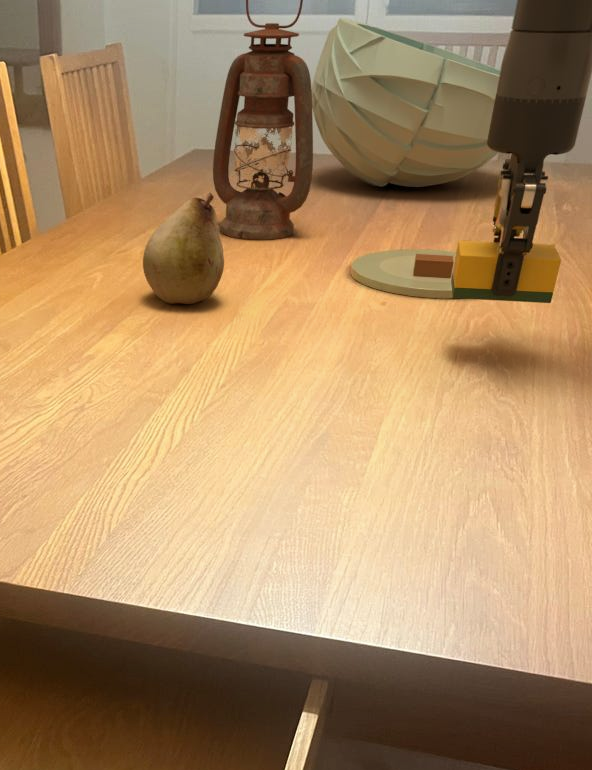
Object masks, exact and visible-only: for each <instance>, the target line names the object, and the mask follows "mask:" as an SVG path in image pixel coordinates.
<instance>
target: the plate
mask: <svg viewBox="0 0 592 770" xmlns="http://www.w3.org/2000/svg"><path fill="white" fill-rule="evenodd" d="M416 254H429V255H447V256H453V260H454V262H455V257H456V251H448V250H440V249H439V250H438V249H419V248H418V249H417V248H416V249H415V248H413V249H412V248H409V249H406V248H405V249H391V250H382V251H381V250H380V251H375V252H371V253H366V254H363V255H360V256H358V257H357V258H355V259H354V260H353V261H352V263H351V266H350V268H351V269H350V275H351V277H352V278H353V279H354V280H355V281H357V282H359V284H362V285H364V286H366V287H369V288H372V289H375V290H379V291H383V292H387V293H390V294H396V295H401V296H408V297H417V298H425V299H426V298H427V299H428V298H429V299H449V300H451V299H452V300H453V299H455V298H453V295H452V286H451V279H452V274H451V278H437V277H421V276H413V268H414V263H415V257H416ZM453 268H454V263H453ZM453 268H452V273H453Z"/></svg>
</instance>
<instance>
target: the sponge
mask: <svg viewBox="0 0 592 770" xmlns="http://www.w3.org/2000/svg"><path fill="white" fill-rule="evenodd" d="M499 244H500V242H493V241H474V240H458V241H457V246H456V251H455V252H456V257H455V262H454V268H453V273H452V279H451V286H452V295H453V298H454V299H461V300H462V299H463V300H483V301H502V302H520V303H521V302H523V303H539V304H551V303H552V300H553V297H554V292H555V289H556V283H557V279H558V276H559V271H560V267H561V262H562V259H561V255H560V254H559V252H558V249H557V248H556V246H555V244H550V243H549V244H547V243H533V246H532V249H531V250H530V252H529V253H527V254H526V256H524V259H523V263H522V268H521V272H520V277H519V281H518V286H517V290H516V293H515V295H513V296H511V297H509V296H495V295H493V294H492V290H491V288H492V283H493V279H494V274H495V269H496V264H497V259H498V251H499V250H497V249H498V245H499Z"/></svg>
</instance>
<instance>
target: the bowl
mask: <svg viewBox="0 0 592 770" xmlns="http://www.w3.org/2000/svg"><path fill="white" fill-rule="evenodd" d="M500 70H501V69H499V68H496V67H494V66H492V65H489V64H486V63H483V62H481V61H478V60H475V59H472V58H470V57H467V56H464V55H461V54H458V53H457V52H452V51H450V50H447V49H444V48H441V47H438V46H435V45H433V44H429V43H426V42H422V41H420V40H417V39H414V38H411V37H408V36H405V35H402V34H399V33H397V32H392V31H390V30H386V29H384V28H380V27H377V26H373V25H371V24H366V23H364V22H361V21H356V20H352V19H348V18H342V17H339V18H338V20H337V22H336V25H335V26H333V27H332V28H331V29H330V30H329V32H328V34H327V37H326V40H325V42H324V45H323V48H322V50H321V53H320V56H319V59H318V62H317V66H316V69H315V73H314V75H313V79H312V82H311V89H312V114H313V116H314V117H313V118H314V120H315V123H316V126H317V130H318V132H319V134H320V138H321V139H322V141H323V143H324V144H325V146H326V147H327V149H328V150H329V151H330V153H331V155H333V157H334V158H335V159H336V160H337V161H338V162H339V163H340V164H341V165H342V166H343V167H344V168H345V169H346V170H347V171H348V172H349V173H350V174H351V175H353V176H355V177H356V178H358V179H359V180H360V181H363V182H364V183H366V184H368V185H370V186H373V187H377V186H378V187H385V186H387V185H388V184H393V185H397V186H402V187H403V186H404V187H413V188H421V187H429V186H436V185H440V184H447V183H450V182H453V181H454V182H455V181H456V180H460V179H462V178H464V177H466V176H468V175H470V174H472V173H473V172H475V171H476V170H479V169H480V168H481V167H483V166H484V165H486V164H487V163H488V162H490V161H491V160H493V158H495V156H497V155H498V154H499V153H500V152H496V151H493V150H491V149H490V148H489V147H488V145H487V139H488V134H489V129H490V123H491V118H492V113H493V107H494V102H495V97H496V92H497V87H498V81H499V76H500Z"/></svg>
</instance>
